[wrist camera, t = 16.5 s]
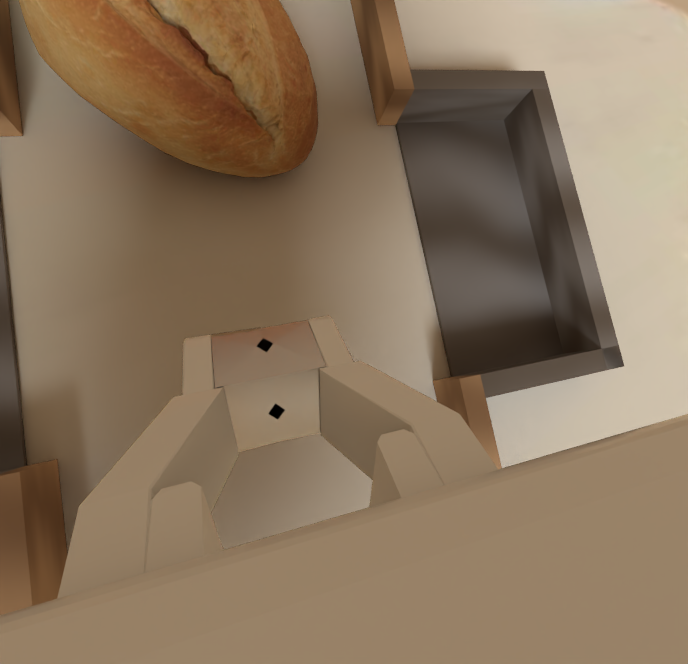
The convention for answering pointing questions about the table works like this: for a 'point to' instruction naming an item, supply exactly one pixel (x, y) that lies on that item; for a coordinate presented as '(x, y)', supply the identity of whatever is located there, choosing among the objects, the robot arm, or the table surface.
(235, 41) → the bread roll
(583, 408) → the table surface
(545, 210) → the box
